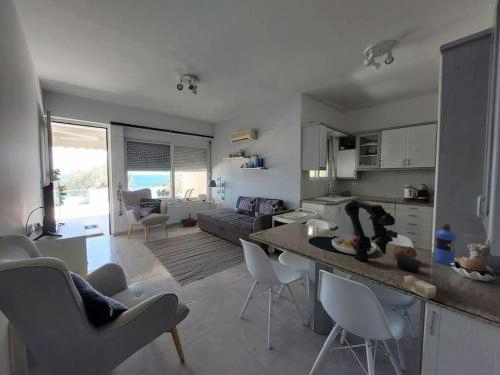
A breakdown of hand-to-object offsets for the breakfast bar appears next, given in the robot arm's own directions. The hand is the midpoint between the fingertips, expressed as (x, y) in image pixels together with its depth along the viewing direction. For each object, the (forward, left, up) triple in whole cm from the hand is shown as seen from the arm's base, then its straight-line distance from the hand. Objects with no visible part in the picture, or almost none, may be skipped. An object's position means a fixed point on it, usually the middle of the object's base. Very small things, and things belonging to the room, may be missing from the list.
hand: (384, 254), depth 117 cm
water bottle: (-1, +49, -11) cm, 51 cm away
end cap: (+1, +17, -11) cm, 21 cm away
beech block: (+14, -1, -9) cm, 16 cm away
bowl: (-37, +11, -11) cm, 40 cm away
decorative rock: (-10, +27, -11) cm, 31 cm away
